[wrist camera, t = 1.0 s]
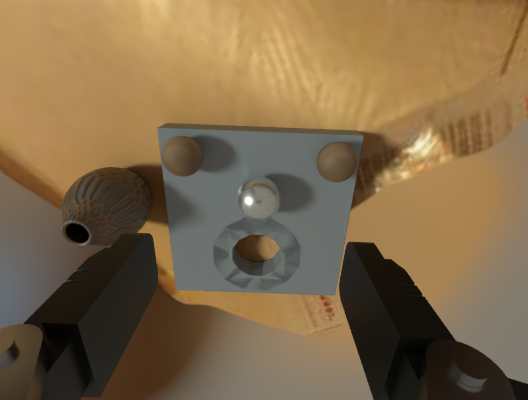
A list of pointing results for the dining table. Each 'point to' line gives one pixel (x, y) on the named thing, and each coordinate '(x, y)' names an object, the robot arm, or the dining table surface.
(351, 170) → the walnut ball
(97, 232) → the vase
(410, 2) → the dining table surface
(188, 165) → the walnut ball
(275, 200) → the steel ball
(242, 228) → the hole plate
